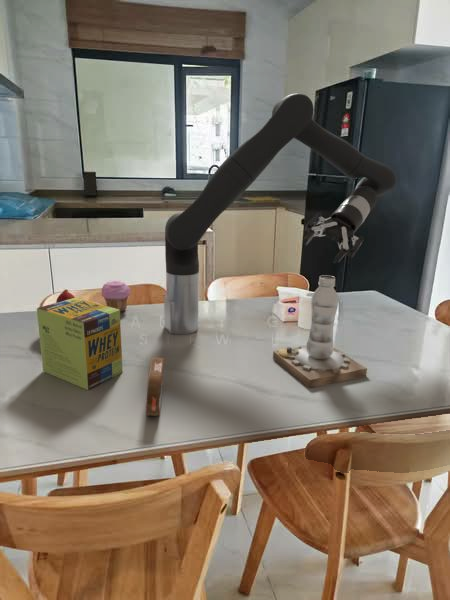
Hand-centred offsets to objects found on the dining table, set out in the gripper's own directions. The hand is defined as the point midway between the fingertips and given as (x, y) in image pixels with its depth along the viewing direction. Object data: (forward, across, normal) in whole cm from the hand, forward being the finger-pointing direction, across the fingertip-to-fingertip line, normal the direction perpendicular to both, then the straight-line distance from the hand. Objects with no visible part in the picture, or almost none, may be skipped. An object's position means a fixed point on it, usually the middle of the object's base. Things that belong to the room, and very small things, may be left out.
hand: (319, 251), depth 108 cm
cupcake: (+30, -47, +41) cm, 69 cm away
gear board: (+20, +15, +14) cm, 29 cm away
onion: (+41, -57, +39) cm, 80 cm away
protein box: (+56, -27, +14) cm, 64 cm away
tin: (+53, -7, +5) cm, 54 cm away
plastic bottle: (+18, +14, +12) cm, 26 cm away
